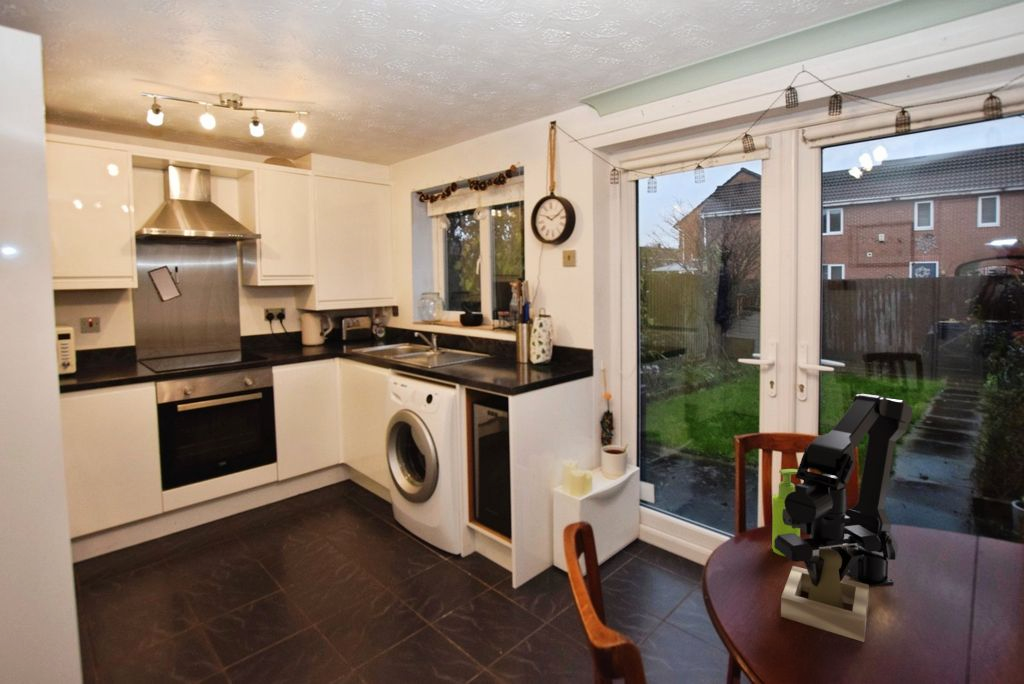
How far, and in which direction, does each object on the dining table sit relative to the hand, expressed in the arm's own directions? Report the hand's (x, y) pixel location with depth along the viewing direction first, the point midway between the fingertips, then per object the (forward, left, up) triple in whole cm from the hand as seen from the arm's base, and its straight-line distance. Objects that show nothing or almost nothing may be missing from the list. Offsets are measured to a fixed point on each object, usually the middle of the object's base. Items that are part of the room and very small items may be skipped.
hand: (825, 583), depth 104 cm
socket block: (0, 0, -5) cm, 5 cm away
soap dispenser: (-8, -22, -6) cm, 24 cm away
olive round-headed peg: (0, 0, -4) cm, 4 cm away
